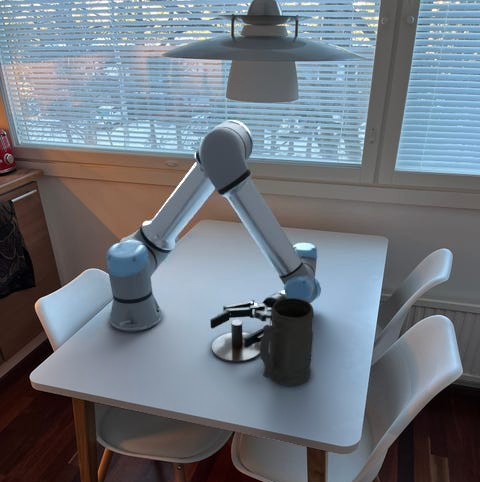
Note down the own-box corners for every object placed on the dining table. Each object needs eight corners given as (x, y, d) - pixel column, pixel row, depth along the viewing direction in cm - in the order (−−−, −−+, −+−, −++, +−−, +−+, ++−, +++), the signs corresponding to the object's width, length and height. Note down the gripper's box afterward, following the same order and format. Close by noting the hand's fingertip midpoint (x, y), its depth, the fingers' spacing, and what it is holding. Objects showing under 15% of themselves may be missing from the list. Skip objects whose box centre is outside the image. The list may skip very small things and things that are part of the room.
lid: (201, 347, 131) (200, 322, 127) (237, 328, 140) (237, 304, 135) (236, 369, 123) (236, 343, 118) (272, 347, 131) (273, 322, 127)
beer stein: (285, 354, 128) (285, 291, 117) (319, 369, 122) (323, 304, 111) (250, 385, 119) (246, 320, 107) (286, 403, 113) (285, 336, 101)
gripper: (250, 280, 144) (197, 305, 131) (315, 308, 129) (261, 339, 116) (250, 301, 148) (198, 327, 135) (313, 331, 133) (261, 364, 120)
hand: (227, 333), depth 126 cm, fingers open, 12 cm apart
